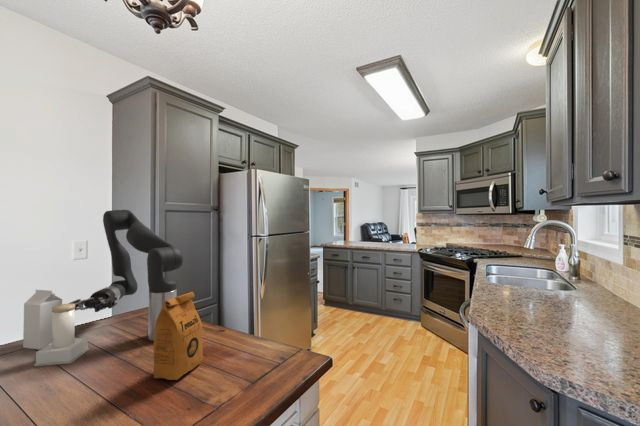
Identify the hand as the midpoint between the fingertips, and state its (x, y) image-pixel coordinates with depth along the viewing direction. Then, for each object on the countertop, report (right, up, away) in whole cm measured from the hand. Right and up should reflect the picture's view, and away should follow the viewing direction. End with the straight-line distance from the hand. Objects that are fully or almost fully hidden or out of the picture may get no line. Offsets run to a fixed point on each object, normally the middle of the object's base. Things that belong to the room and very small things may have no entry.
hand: (82, 310), depth 103 cm
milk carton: (-13, -12, -1) cm, 18 cm away
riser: (+2, -12, -10) cm, 15 cm away
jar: (+2, -8, -10) cm, 13 cm away
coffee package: (+43, -12, -18) cm, 48 cm away
